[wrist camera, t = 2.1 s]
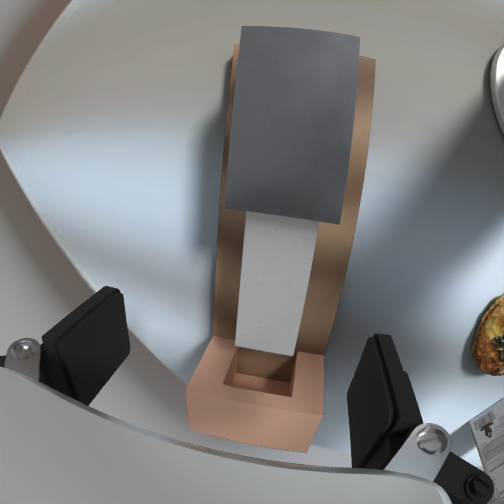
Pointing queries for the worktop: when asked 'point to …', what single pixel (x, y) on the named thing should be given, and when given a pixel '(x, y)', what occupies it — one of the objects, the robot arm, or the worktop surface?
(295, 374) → the socket block
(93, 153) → the worktop surface
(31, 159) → the worktop surface
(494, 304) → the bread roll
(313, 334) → the base board
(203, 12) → the worktop surface
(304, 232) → the light grey bar
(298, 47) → the sleeve
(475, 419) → the coffee box
